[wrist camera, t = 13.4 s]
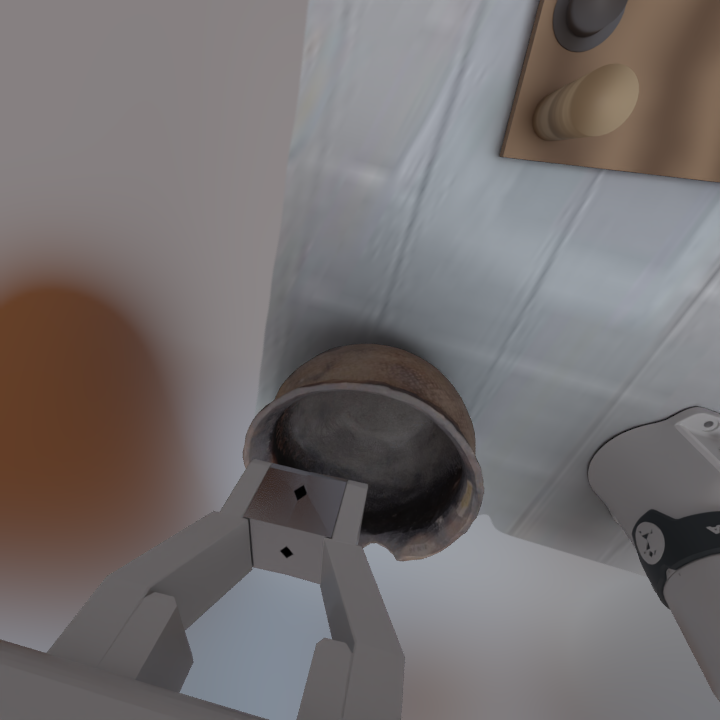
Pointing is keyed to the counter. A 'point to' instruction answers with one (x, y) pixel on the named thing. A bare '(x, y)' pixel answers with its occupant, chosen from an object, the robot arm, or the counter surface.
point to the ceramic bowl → (379, 443)
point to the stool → (623, 91)
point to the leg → (592, 15)
